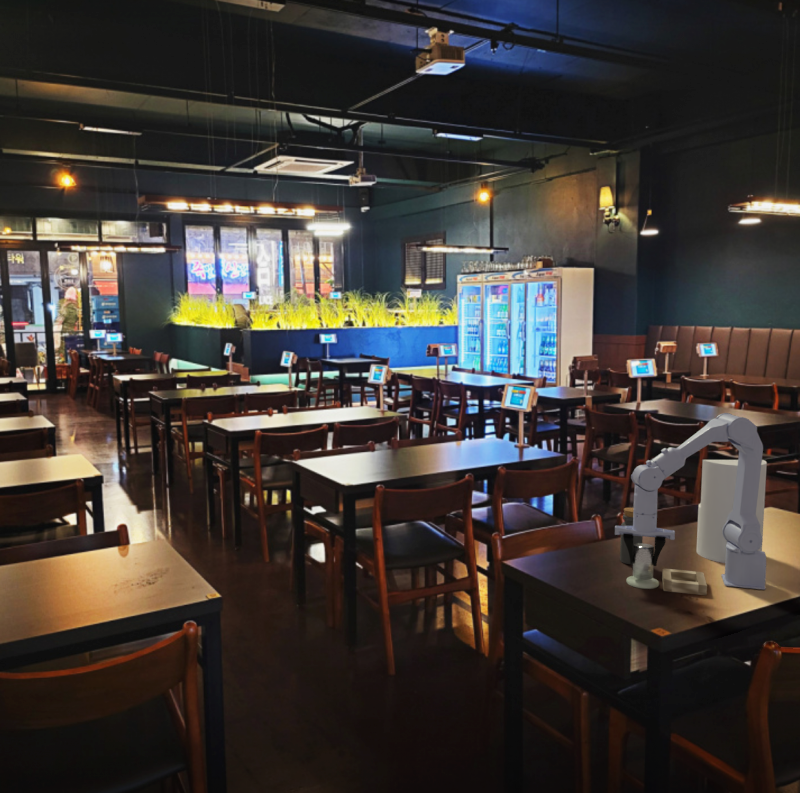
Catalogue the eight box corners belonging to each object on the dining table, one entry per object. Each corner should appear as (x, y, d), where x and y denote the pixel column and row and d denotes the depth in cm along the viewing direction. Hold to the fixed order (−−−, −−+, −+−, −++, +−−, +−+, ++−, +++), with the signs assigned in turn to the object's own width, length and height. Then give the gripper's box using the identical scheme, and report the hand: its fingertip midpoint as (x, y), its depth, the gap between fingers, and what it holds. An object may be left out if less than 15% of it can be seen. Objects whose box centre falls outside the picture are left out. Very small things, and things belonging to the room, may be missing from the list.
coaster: (658, 579, 191) (658, 577, 191) (659, 590, 183) (659, 588, 183) (626, 576, 193) (626, 574, 193) (626, 586, 186) (626, 584, 186)
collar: (702, 581, 189) (703, 572, 189) (706, 595, 180) (706, 585, 180) (662, 577, 193) (662, 568, 192) (663, 590, 183) (663, 581, 183)
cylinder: (772, 564, 203) (778, 466, 200) (710, 564, 203) (715, 465, 200) (744, 545, 220) (749, 454, 217) (687, 545, 220) (691, 454, 217)
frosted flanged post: (653, 573, 190) (653, 544, 189) (653, 580, 185) (654, 550, 184) (632, 572, 192) (633, 542, 191) (632, 578, 187) (633, 548, 186)
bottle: (642, 565, 202) (644, 512, 200) (620, 564, 203) (622, 511, 202) (640, 558, 208) (642, 507, 206) (619, 557, 209) (620, 506, 207)
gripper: (674, 510, 188) (672, 561, 189) (616, 506, 192) (614, 556, 194) (675, 517, 181) (673, 570, 183) (615, 512, 186) (613, 564, 187)
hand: (643, 563), depth 188 cm, fingers closed on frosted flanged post, 5 cm apart
